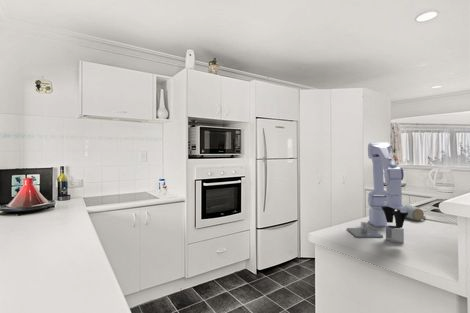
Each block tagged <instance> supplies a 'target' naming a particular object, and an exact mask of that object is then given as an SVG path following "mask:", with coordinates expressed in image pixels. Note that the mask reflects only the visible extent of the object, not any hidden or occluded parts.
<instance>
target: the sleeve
mask: <svg viewBox="0 0 470 313" xmlns="http://www.w3.org/2000/svg"><path fill="white" fill-rule="evenodd" d="M404 231H405V230H404V228H403V227H402V228H397V227H396V224H393V225H391V226H385V239H386V240H387V241H389V242H390V243H391V244H393V243H394V244H397V243H399V244H400V243H402V244H403V243H404V242H405V240H404V238H405V235H404V234H405V233H404Z"/></svg>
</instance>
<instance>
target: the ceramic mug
mask: <svg viewBox="0 0 470 313" xmlns="http://www.w3.org/2000/svg"><path fill="white" fill-rule="evenodd" d="M403 206H404V207H405V208H406V212H408V215H407V216H406V218H407V219H410V220H413V221H416V222H417V221H421V220H422V219H423V220H425V219H426V218H427V217H426V216H425V215H424V210H422V208H419V207H417V206H414V205H412V204H405V205H403ZM406 218H405V219H406Z"/></svg>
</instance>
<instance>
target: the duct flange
mask: <svg viewBox="0 0 470 313" xmlns="http://www.w3.org/2000/svg"><path fill="white" fill-rule="evenodd" d="M346 231H348V232H349V233H350V234H352V236H354V237H355V238H356V239H359V238H361V239H363V238H364V239H366V238H367V239H369V238H377V239H378V238H379V239H380V238H384V235H383V234H381V233H380V232H378V231H376V230H375V229H373V227H368V222H366V221H360V227H346Z"/></svg>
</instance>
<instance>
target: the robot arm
mask: <svg viewBox="0 0 470 313" xmlns="http://www.w3.org/2000/svg"><path fill="white" fill-rule="evenodd" d="M391 151H392V145H391V143H390V142H389V141H388V142H387V141H386V142H369V143H368V145H367V156H368V159H370V160H371V161H372V177H373V178H372V179H373V180H372V181H373V189H372V190H371V191H369V193H368V196H367V204H368V206H369V211H368V220H367V223H369V224H371V225H372V226H374V227H386V226H392V225H391V224H393V222H394V220H395V225H396V227H397V228H403V226H404V224H405V219H406V216H407V215H408V212H406V208H405V207H404V206H405V205H403V204H402V203H403V201H402V199H403V196H402V190H403V189H402V181H403V180H404V177H405V175H404V174H405V173H404V170H403V167H402V166H398V164H397V161H396V160H395V158H393V157H391V155H390V153H391ZM384 183H385V184H384ZM384 185H386V186H384ZM385 187H386V188H385ZM385 189H386V190H385ZM390 223H391V224H390Z"/></svg>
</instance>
